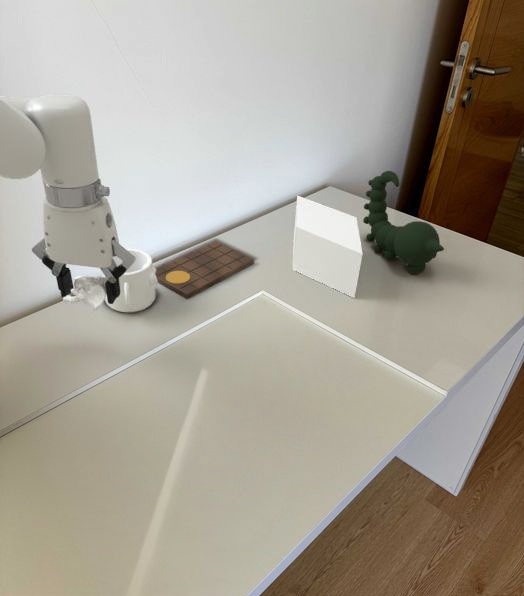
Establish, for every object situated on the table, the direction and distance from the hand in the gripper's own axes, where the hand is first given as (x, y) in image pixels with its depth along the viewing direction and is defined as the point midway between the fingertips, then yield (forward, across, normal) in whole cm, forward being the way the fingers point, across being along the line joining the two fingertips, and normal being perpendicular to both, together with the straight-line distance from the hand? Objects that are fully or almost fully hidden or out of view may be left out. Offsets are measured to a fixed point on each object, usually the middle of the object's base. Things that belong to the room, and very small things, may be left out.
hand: (90, 295), depth 86 cm
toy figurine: (+9, -55, -43) cm, 70 cm away
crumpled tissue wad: (+1, 0, 0) cm, 1 cm away
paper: (+9, -38, -37) cm, 53 cm away
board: (+10, -12, -29) cm, 33 cm away
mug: (+11, -2, -14) cm, 17 cm away
